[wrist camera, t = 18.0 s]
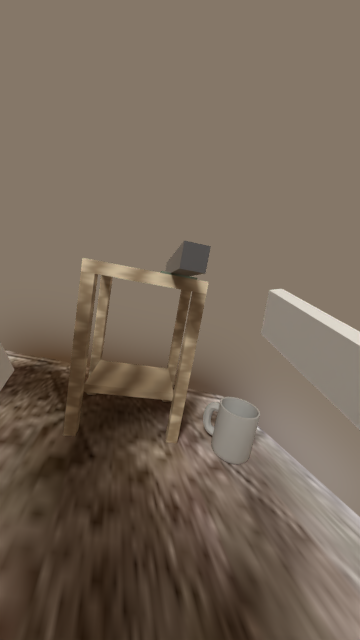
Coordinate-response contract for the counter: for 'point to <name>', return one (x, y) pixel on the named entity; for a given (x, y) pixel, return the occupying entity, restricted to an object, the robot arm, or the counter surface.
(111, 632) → the counter surface
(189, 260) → the grey square bar
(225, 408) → the cup
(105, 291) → the stand
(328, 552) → the counter surface
